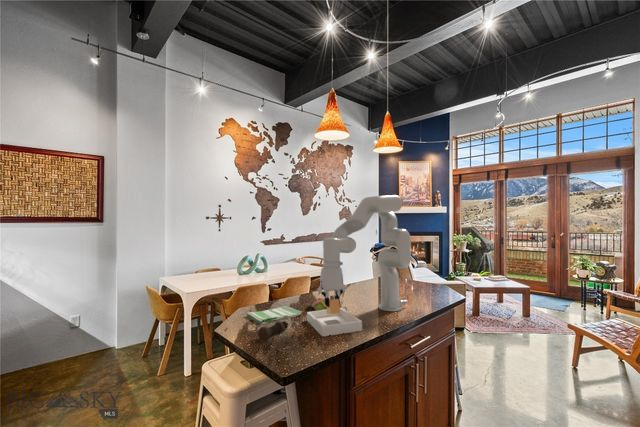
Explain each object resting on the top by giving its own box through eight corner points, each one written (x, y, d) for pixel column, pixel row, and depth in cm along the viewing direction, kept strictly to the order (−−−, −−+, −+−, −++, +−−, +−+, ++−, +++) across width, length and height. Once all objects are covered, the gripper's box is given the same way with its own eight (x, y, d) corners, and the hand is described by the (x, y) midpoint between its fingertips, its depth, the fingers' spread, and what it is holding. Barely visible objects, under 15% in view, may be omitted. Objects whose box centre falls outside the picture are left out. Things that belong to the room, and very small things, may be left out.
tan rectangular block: (335, 313, 136) (333, 295, 138) (340, 313, 131) (338, 295, 133) (327, 313, 135) (325, 296, 137) (331, 314, 129) (329, 296, 132)
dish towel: (303, 315, 151) (303, 310, 151) (261, 326, 136) (261, 320, 137) (284, 308, 165) (284, 303, 165) (245, 317, 150) (245, 311, 150)
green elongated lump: (323, 316, 143) (302, 296, 165) (325, 330, 144) (304, 308, 167) (344, 308, 148) (321, 290, 170) (346, 321, 149) (323, 301, 172)
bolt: (287, 333, 131) (264, 344, 118) (279, 326, 133) (255, 336, 120) (292, 322, 130) (269, 332, 117) (284, 315, 132) (261, 324, 119)
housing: (341, 315, 147) (341, 307, 148) (362, 330, 127) (362, 321, 127) (307, 320, 142) (307, 312, 142) (322, 336, 121) (322, 326, 121)
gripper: (345, 263, 141) (345, 302, 141) (311, 265, 136) (312, 305, 135) (351, 265, 134) (352, 306, 133) (316, 267, 129) (317, 309, 128)
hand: (332, 305), depth 134 cm, fingers closed on tan rectangular block, 3 cm apart
